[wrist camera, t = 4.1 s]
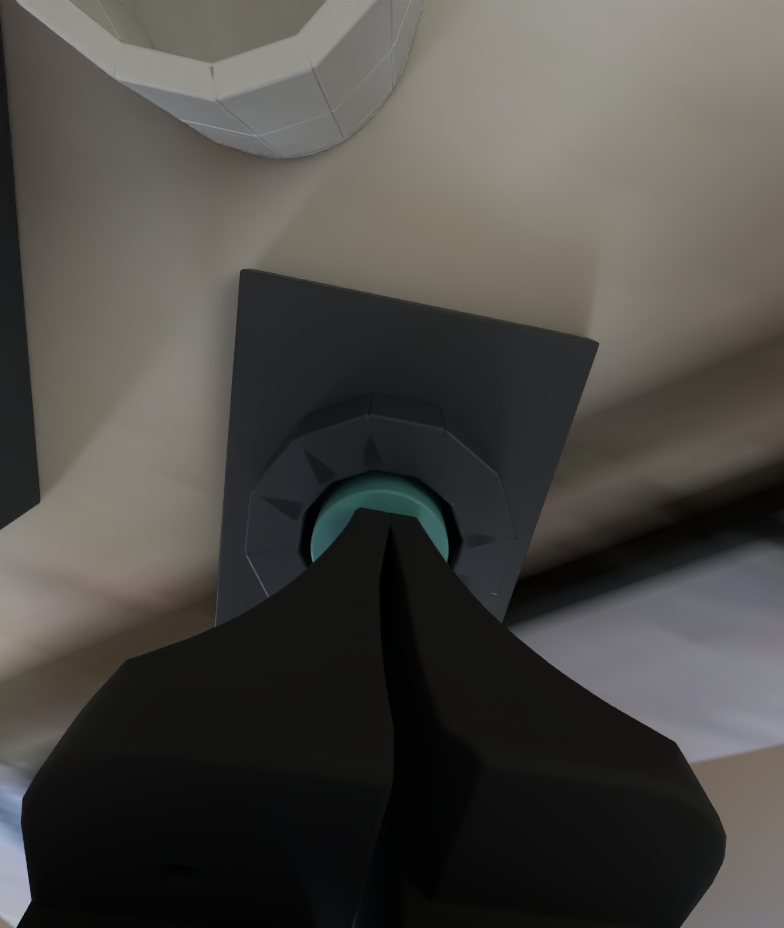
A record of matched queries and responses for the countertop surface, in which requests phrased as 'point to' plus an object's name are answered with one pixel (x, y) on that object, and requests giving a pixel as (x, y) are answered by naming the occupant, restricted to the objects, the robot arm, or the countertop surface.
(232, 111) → the cup
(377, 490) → the button
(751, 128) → the countertop surface
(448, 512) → the pad
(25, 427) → the scale
